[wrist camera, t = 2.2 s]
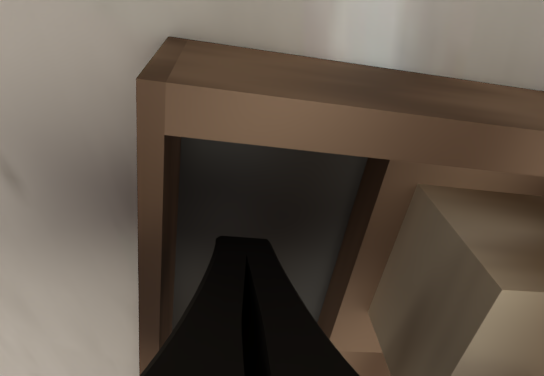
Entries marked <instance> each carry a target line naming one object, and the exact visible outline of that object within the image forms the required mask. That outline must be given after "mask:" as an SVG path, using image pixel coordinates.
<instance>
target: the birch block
mask: <svg viewBox="0 0 544 376" xmlns="http://www.w3.org/2000/svg"><path fill="white" fill-rule="evenodd" d="M368 315H369V317H370V320H371V323H372V325H373V328H374V331H375V333H376V336H377V339H378V342H379V344H380V347H381V350H382V352H383V355H384V358H385V360H386V363H387V366H388V368H389V371H390V374H391V376H544V197H543V196H534V195H524V194H514V193H504V192H494V191H484V190H475V189H465V188H455V187H445V186H435V185H426V184H417V187H416V189H415V192H414V195H413V197H412V200H411V202H410V205H409V207H408V210H407V213H406V215H405V218H404V220H403V223H402V225H401V228H400V231H399V233H398V236H397V238H396V241H395V243H394V246H393V249H392V251H391V254H390V256H389V259H388V262H387V264H386V267H385V269H384V272H383V274H382V277H381V280H380V282H379V285H378V287H377V290H376V292H375V295H374V298H373V300H372V303H371V305H370V308H369V310H368Z"/></svg>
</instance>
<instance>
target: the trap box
mask: <svg viewBox="0 0 544 376" xmlns="http://www.w3.org/2000/svg"><path fill="white" fill-rule="evenodd" d="M136 102H137V191H138V280H139V368H140V375H141V373H142V372H143V371H144V369H145V368H146V367H147V366H148V364H149V363H150V362H151V360H152V359H153V358H154V356H155V355H156V354H157V352H158V351H159V350H160V348H161V347H162V345H163V344H164V343H165V341H166V340H167V338H168V337H169V335H170V334H171V332H172V331H173V329H174V328H175V326H176V325H177V323H178V322H179V320H180V318H181V317H182V315H183V313H184V312H185V310H186V308H187V306H188V305H189V303H190V301H191V300H192V298H193V296H194V294H195V292H196V291H197V289H198V286H199V284H200V282H201V280H202V278H203V276H204V274H205V272H206V270H207V267H208V265H209V263H210V260H211V257H212V254H213V251H214V247H215V242H216V238H218V237H219V236H234V237H247V238H260V239H268V240H269V242H270V243H271V245H272V247H273V249H274V251H275V254H276V256H277V258H278V260H279V262H280V264H281V265H282V267H283V269H284V271H285V273H286V275H287V276H288V278H289V280H290V282H291V283H292V285H293V287H294V288H295V290H296V291H297V293H298V295H299V296H300V298H301V300H302V301H303V303H304V304H305V306H306V307H307V309H308V310H309V312H310V313H311V315H312V316H313V318H314V319H315V320H316V322H317V323H318V325H319V326H320V328H321V329H322V330H323V332H324V333H325V334H326V336H327V337H328V338H329V340H330V341H331V342H332V343H333V345H334V346H335V347H336V348H337V350H338V351H339V352H340V353H341V355H342V356H343V357H344V358H345V359H346V361H347V362H348V363H349V364H350V365H351V366H352V367H353V369H354V370H355V371H356V372H357V373H358V374H359V375H360V376H391V374H390V371H389V368H388V366H387V363H386V360H385V358H384V355H383V352H382V350H381V347H380V344H379V342H378V339H377V336H376V333H375V331H374V328H373V325H372V323H371V320H370V317H369V315H368V310H369V308H370V305H371V303H372V300H373V298H374V295H375V292H376V290H377V287H378V285H379V282H380V280H381V277H382V274H383V272H384V269H385V267H386V264H387V262H388V259H389V256H390V254H391V251H392V249H393V246H394V243H395V241H396V238H397V236H398V233H399V231H400V228H401V225H402V223H403V220H404V218H405V215H406V213H407V210H408V207H409V205H410V202H411V200H412V197H413V195H414V192H415V189H416V187H417V184H426V185H435V186H445V187H455V188H465V189H475V190H484V191H494V192H504V193H514V194H524V195H534V196H543V197H544V92H543V91H536V90H530V89H523V88H516V87H509V86H502V85H495V84H489V83H482V82H475V81H468V80H461V79H454V78H448V77H441V76H434V75H427V74H420V73H413V72H407V71H400V70H393V69H386V68H379V67H372V66H366V65H359V64H352V63H345V62H338V61H331V60H325V59H318V58H311V57H304V56H297V55H290V54H284V53H277V52H270V51H263V50H256V49H249V48H243V47H236V46H229V45H222V44H215V43H208V42H202V41H195V40H188V39H181V38H174V37H168V38H167V39H166V41H165V42H164V43H163V44H162V46H161V47H160V48H159V50H158V51H157V52H156V54H155V55H154V56H153V57H152V59H151V60H150V61H149V63H148V64H147V65H146V67H145V68H144V69H143V70H142V72H141V73H140V74H139V76H138V77H137V78H136Z"/></svg>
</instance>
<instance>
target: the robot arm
mask: <svg viewBox="0 0 544 376" xmlns="http://www.w3.org/2000/svg"><path fill="white" fill-rule="evenodd" d="M140 376H360V375H359V374H358V373H357V372H356V371H355V370H354V369H353V367H352V366H351V365H350V364H349V363H348V362H347V361H346V359H345V358H344V357H343V356H342V355H341V353H340V352H339V351H338V350H337V348H336V347H335V346H334V345H333V343H332V342H331V341H330V340H329V338H328V337H327V336H326V334H325V333H324V332H323V330H322V329H321V328H320V326H319V325H318V323H317V322H316V320H315V319H314V318H313V316H312V315H311V313H310V312H309V310H308V309H307V307H306V306H305V304H304V303H303V301H302V300H301V298H300V296H299V295H298V293H297V291H296V290H295V288H294V287H293V285H292V283H291V282H290V280H289V278H288V276H287V275H286V273H285V271H284V269H283V267H282V265H281V264H280V262H279V260H278V258H277V256H276V254H275V251H274V249H273V247H272V245H271V243H270V242H269V240H268V239H260V238H247V237H234V236H219V237H218V238H216V242H215V247H214V251H213V254H212V257H211V260H210V263H209V265H208V267H207V270H206V272H205V274H204V276H203V278H202V280H201V282H200V284H199V286H198V289H197V291H196V292H195V294H194V296H193V298H192V300H191V301H190V303H189V305H188V306H187V308H186V310H185V312H184V313H183V315H182V317H181V318H180V320H179V322H178V323H177V325H176V326H175V328H174V329H173V331H172V332H171V334H170V335H169V337H168V338H167V340H166V341H165V343H164V344H163V345H162V347H161V348H160V350H159V351H158V352H157V354H156V355H155V356H154V358H153V359H152V360H151V362H150V363H149V364H148V366H147V367H146V368H145V369H144V371H143V372H142V373H141V375H140Z"/></svg>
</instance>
